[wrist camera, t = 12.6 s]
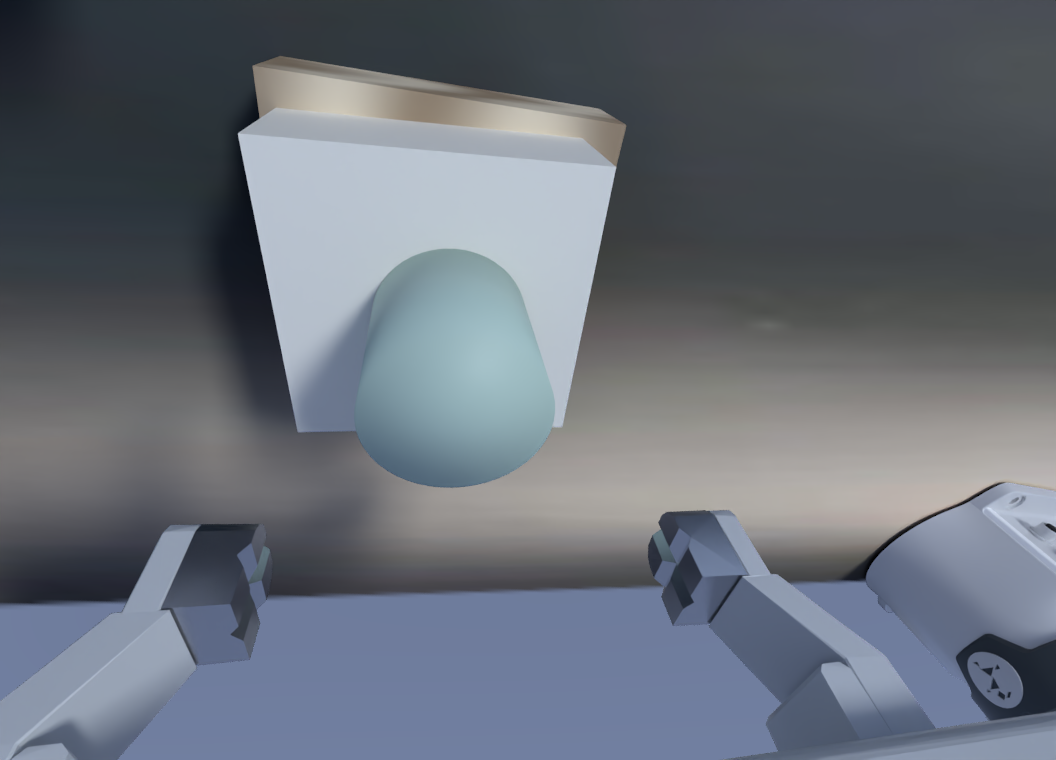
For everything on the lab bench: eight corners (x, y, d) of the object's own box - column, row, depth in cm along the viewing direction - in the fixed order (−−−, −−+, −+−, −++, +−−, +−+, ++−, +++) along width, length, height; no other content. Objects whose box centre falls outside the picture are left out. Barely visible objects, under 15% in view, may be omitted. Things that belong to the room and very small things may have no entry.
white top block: (582, 138, 18) (616, 167, 14) (543, 370, 23) (562, 426, 20) (275, 107, 16) (237, 133, 12) (316, 369, 21) (297, 431, 18)
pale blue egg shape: (535, 255, 16) (572, 340, 12) (514, 382, 19) (538, 485, 15) (368, 242, 15) (347, 331, 11) (374, 379, 17) (359, 489, 14)
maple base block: (596, 106, 21) (626, 125, 18) (544, 349, 28) (559, 394, 24) (283, 55, 18) (252, 65, 15) (312, 338, 25) (295, 386, 22)
